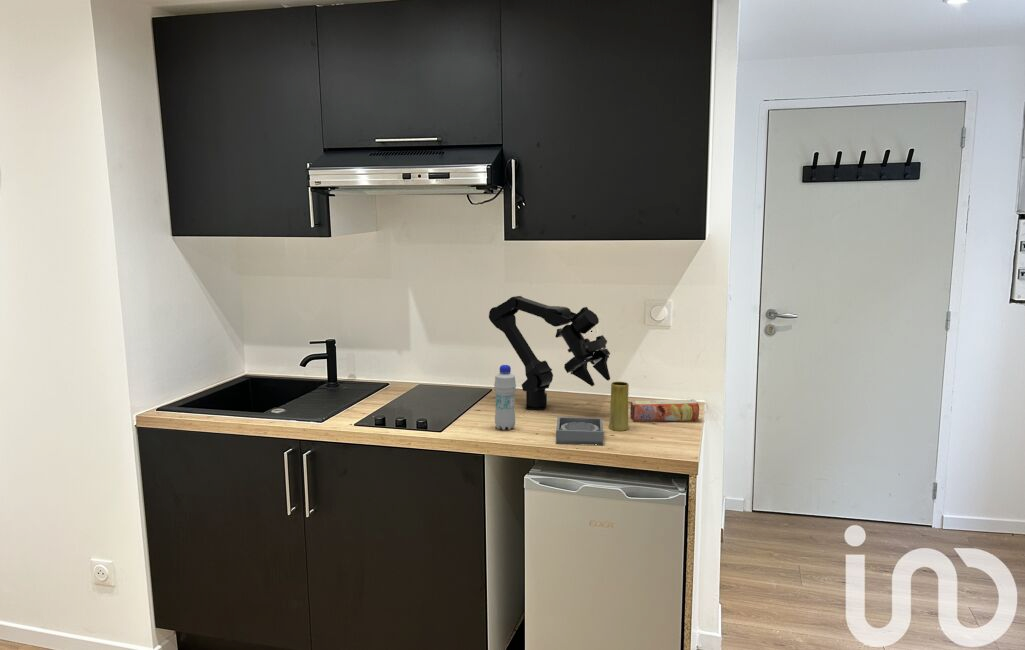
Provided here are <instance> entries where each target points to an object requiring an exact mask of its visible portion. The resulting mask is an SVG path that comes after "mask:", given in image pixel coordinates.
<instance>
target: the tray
mask: <svg viewBox="0 0 1025 650" xmlns="http://www.w3.org/2000/svg"><path fill="white" fill-rule="evenodd" d="M570 422H587V423H592V424H594V425H596V426H598V431H589V430H584V429H573V430H561V425H563V424H565V423H570ZM555 444H556V445H557V444H558V445H578V444H594V445H593V446H603V445H604V423H603V417H602V418H601V417H580V416H579V417H576V416H575V417H574V416H573V417H572V416H571V417H570V416H557V421H556V429H555ZM595 444H597V445H595Z"/></svg>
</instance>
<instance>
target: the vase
mask: <svg viewBox="0 0 1025 650" xmlns="http://www.w3.org/2000/svg"><path fill="white" fill-rule="evenodd" d="M610 385H611V386H610V401H609V402H610V405H609V406H610V407H609V409H610V410H609V423H608V424H609V425H608V428H609V430H611V431H615V432H624V430H625V431H628V430H627V429H630V428H629V383H628V382H625V381H612V382H611V384H610Z"/></svg>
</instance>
